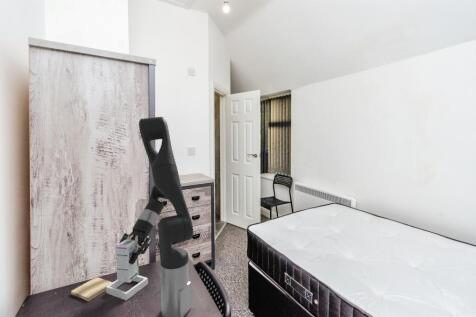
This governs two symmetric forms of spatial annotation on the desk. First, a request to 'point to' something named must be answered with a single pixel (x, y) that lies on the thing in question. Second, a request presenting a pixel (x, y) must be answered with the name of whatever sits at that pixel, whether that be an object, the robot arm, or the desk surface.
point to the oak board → (91, 289)
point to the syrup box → (126, 261)
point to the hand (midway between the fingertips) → (124, 261)
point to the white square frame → (126, 295)
